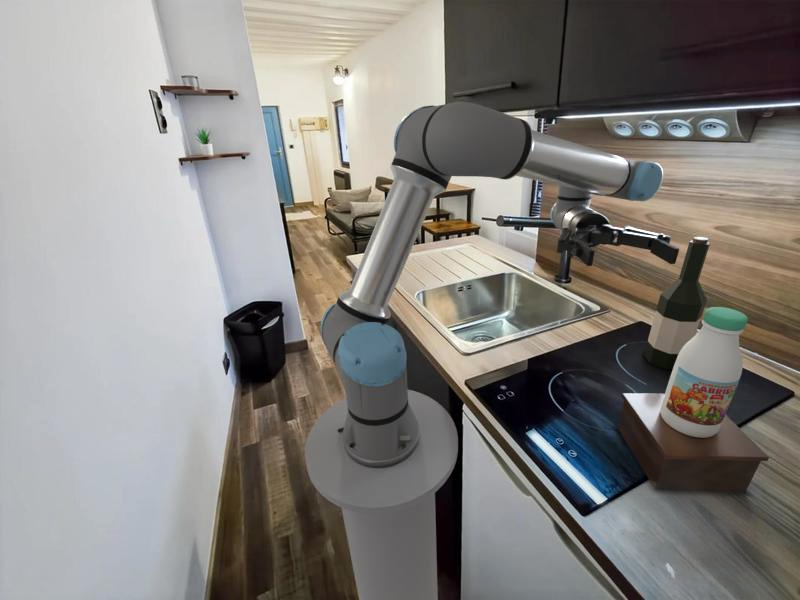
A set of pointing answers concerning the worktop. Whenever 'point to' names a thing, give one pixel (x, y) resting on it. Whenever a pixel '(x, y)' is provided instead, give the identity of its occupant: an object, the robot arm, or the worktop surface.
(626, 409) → the walnut box
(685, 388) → the milk bottle
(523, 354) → the worktop surface
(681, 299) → the wine bottle
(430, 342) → the worktop surface
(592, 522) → the worktop surface
